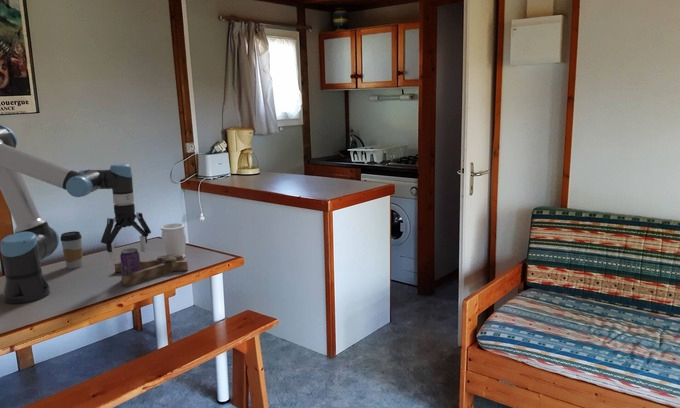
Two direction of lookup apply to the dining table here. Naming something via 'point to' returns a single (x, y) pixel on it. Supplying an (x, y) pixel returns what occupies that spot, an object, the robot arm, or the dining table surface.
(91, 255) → the dining table surface
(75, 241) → the coffee cup
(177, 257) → the tongs base
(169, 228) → the jar
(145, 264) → the tong arm
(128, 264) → the beverage can
